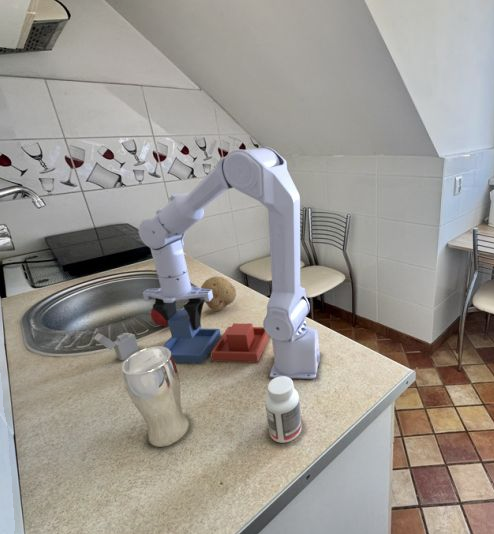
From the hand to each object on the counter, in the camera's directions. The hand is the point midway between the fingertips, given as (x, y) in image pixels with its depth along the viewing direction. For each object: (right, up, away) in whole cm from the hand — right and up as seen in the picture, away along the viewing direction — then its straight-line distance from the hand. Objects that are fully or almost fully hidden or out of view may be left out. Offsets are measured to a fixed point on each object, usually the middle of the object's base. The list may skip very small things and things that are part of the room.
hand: (185, 327), depth 73 cm
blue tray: (0, -5, +2) cm, 6 cm away
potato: (+1, +1, +19) cm, 19 cm away
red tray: (+12, -5, +2) cm, 13 cm away
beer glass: (+6, -14, -18) cm, 24 cm away
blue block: (0, -1, 0) cm, 1 cm away
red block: (+12, -5, +2) cm, 13 cm away
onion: (-10, -2, +11) cm, 15 cm away
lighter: (-14, -7, 0) cm, 16 cm away
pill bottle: (+26, -14, -19) cm, 35 cm away
